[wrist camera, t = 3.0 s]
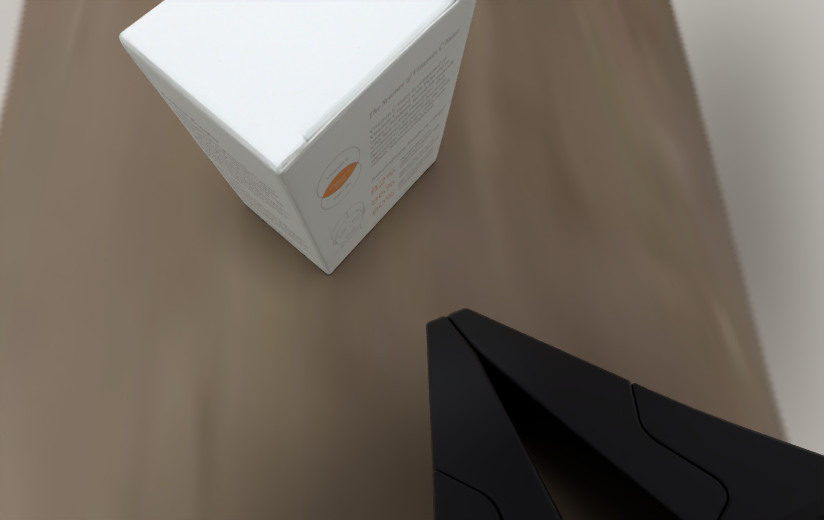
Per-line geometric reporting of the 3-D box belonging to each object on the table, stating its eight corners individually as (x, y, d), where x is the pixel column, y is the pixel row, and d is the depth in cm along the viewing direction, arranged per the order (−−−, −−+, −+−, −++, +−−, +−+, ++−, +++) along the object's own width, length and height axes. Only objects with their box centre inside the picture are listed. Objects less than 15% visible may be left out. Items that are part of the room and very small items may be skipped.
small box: (355, 96, 23) (335, -138, 12) (439, 162, 22) (490, -29, 12) (239, 203, 21) (104, 28, 10) (328, 280, 20) (274, 171, 10)
